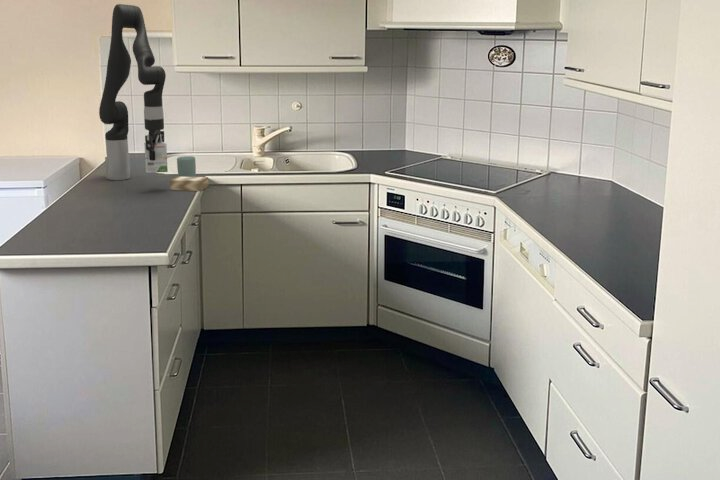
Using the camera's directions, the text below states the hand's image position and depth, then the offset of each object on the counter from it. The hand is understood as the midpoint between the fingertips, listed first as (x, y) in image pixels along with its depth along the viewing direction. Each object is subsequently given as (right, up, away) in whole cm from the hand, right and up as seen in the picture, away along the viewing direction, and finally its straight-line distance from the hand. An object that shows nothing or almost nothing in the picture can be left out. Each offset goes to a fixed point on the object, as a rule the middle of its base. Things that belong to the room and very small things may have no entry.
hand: (155, 158), depth 345 cm
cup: (+8, -7, +24) cm, 26 cm away
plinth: (+12, -11, +7) cm, 18 cm away
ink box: (0, -5, +1) cm, 5 cm away
